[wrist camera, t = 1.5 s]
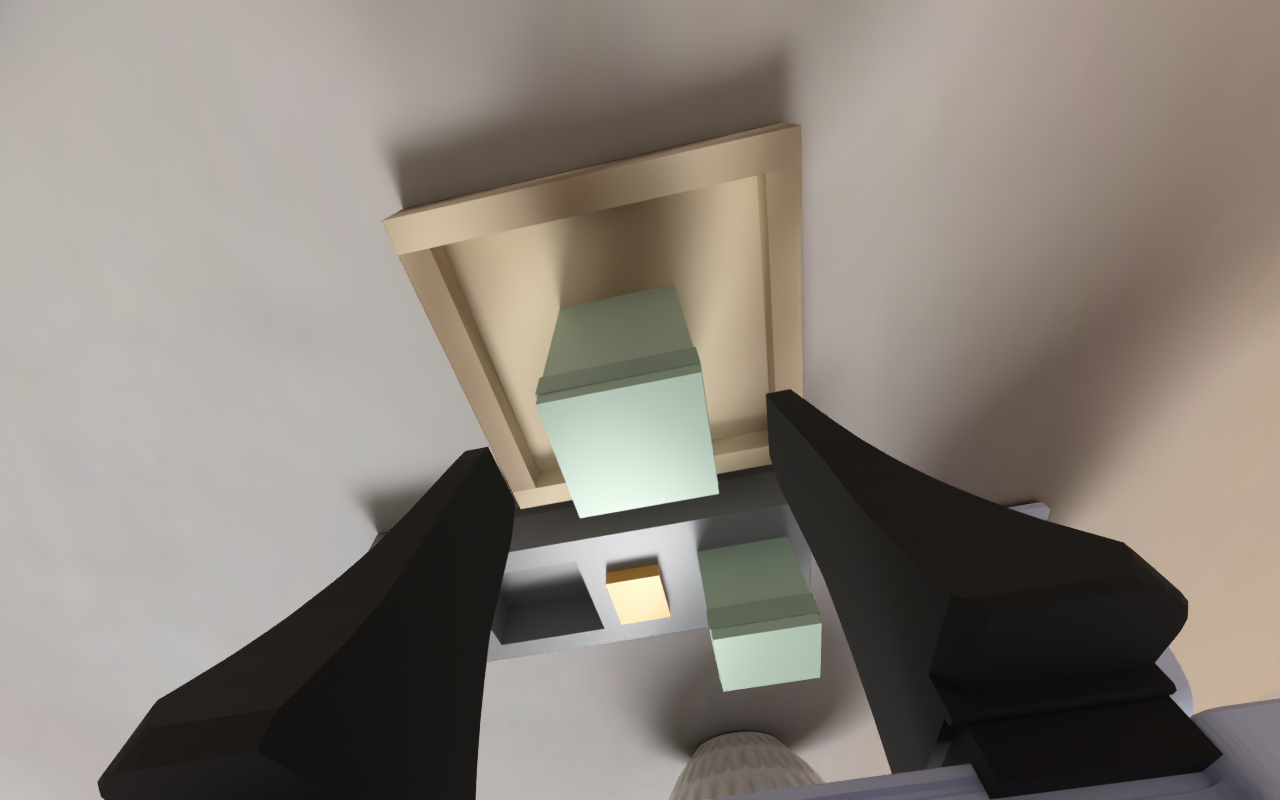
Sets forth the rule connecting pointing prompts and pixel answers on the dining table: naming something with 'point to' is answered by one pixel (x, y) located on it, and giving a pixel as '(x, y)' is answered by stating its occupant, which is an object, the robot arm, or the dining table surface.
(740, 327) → the tray
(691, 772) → the vase
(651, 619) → the gray fixture base
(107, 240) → the dining table surface
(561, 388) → the plug
